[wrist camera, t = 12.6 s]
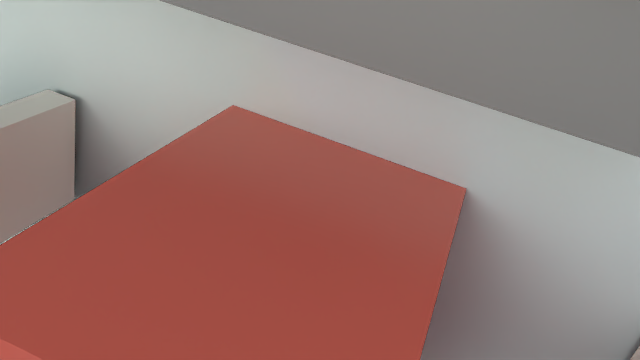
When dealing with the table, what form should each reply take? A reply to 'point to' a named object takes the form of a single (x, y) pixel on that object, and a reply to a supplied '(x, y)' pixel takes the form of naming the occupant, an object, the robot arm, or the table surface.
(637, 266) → the table surface
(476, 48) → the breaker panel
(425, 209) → the red rectangular block
